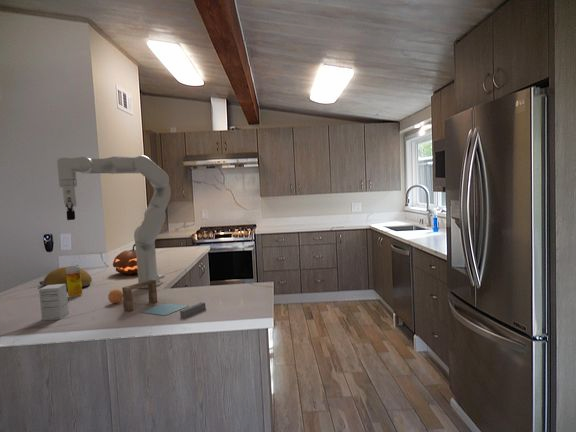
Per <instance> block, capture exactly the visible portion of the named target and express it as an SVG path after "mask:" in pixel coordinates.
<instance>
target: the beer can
mask: <svg viewBox="0 0 576 432" xmlns="http://www.w3.org/2000/svg"><path fill="white" fill-rule="evenodd" d="M65 267H66V276H67V287H68V289H67V297H69V299H70V298H71V299H73V298H80V297H82V295H83V287H82V283H81V272H80V269H81V266H80V265H79V264H71V265H66V266H65Z"/></svg>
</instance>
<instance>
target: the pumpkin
mask: <svg viewBox="0 0 576 432" xmlns="http://www.w3.org/2000/svg"><path fill="white" fill-rule="evenodd" d="M112 267H113V268H115V271H116V272H117V273H119V274H121V275H131V276H132V275H138V270H137V258H136V247H135V243H134V244H132V249H129V250H124V251H121V252H120V253H119V254H117V255H116V256H115V257H114V260H113V262H112Z"/></svg>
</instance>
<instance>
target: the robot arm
mask: <svg viewBox="0 0 576 432" xmlns="http://www.w3.org/2000/svg"><path fill="white" fill-rule="evenodd" d="M56 163H57V164H56V166H57V176H58V177H57V178H58V186H59V188H61V189H62V196H63V202H64V207H65V208H66V220H67V221H74V220H76V212H75V208H76V207H77V206H78V203H77V195H76V187H78V182H77V181H78V180H77V172H78V173H82V174H85V175H86V174H88V175H89V174H112V175H113V174H140V175H142V176H143V177H144V178H146V179H147V180H148V181H149V183H150V185H151V186H152V188H153V194H152V197H151V200H150V201H149V203H148V205H147V207H146V209H145V211H144V215H143V216H144V218H143V219H142V223H141V225H139V226H137V227H136V228H135V229H134V234H133V236H134V237H133V239H134V244H135V247H134V248H135V250H136V258H137V270H138V274H137V280H138V282H137V283H141V282H144V281H148V280H156V287H157V286H160V285H161V284H162V281H160V280H162V279H165V275H164V274H158V268H157V267H158V266H157V254H156V253H157V252H156V243H155V241H156V240H157V238H158V236H159V234H160V232H161V230H162V227H163V225H164V223H165V221H166V218H167V217H166V209H167V207H168V204H169V201H170V199H171V194H172V193H171V185H170V184H169V181H170V177H169V175H168V173H167V172H166V171H164V169H162V168H161V167H160V166H159V165H158V164H157V163H155V162H154V161H153V160H152V159H151V158H149V157H148V156H146V155H139V156H120V155H119V156H110V157H104V158H89V157H87V156H78V157H59V158H57V159H56ZM139 289H148V285H147V286H143V287H140V288H139Z"/></svg>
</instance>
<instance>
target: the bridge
mask: <svg viewBox="0 0 576 432" xmlns="http://www.w3.org/2000/svg"><path fill="white" fill-rule="evenodd" d="M147 285H148V288H147V294H148V296H147V297H148V303H150V304H155V303H158V292H157V286H156V280H148V281H144V282H141V283H138V282H137V283H133V284H130V285H127V286H123V287H121V288H122V289H121V290H122V291H121V292H122V294H123V298H122V301H123V311H124V312H128V313H129V312H132V311H134V303H133V293H132V291H133V290H137V289H141V288H140V287H143V286H147Z"/></svg>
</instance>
